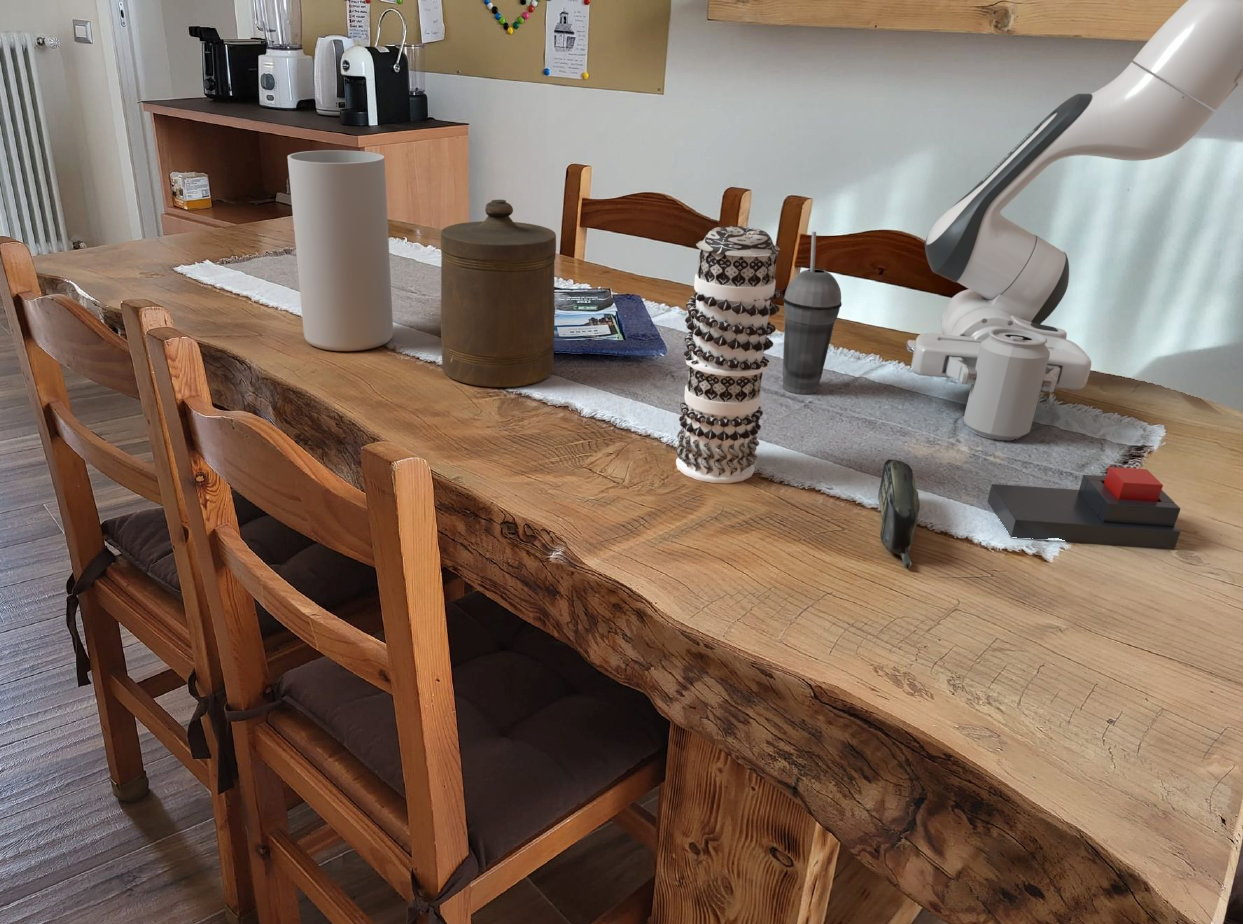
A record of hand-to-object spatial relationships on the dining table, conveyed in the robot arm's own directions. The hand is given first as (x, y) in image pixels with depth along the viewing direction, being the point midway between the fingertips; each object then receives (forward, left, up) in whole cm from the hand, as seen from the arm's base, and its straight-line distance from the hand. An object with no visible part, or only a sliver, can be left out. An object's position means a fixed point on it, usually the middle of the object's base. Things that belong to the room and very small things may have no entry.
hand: (1009, 382), depth 115 cm
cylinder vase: (+85, -21, -7) cm, 88 cm away
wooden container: (+62, -12, -7) cm, 63 cm away
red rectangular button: (-5, +23, -3) cm, 24 cm away
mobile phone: (+17, +28, -7) cm, 33 cm away
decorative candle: (+34, +15, -7) cm, 38 cm away
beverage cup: (+22, -12, -7) cm, 26 cm away
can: (0, -1, -7) cm, 7 cm away
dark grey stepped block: (-1, +23, -7) cm, 24 cm away
